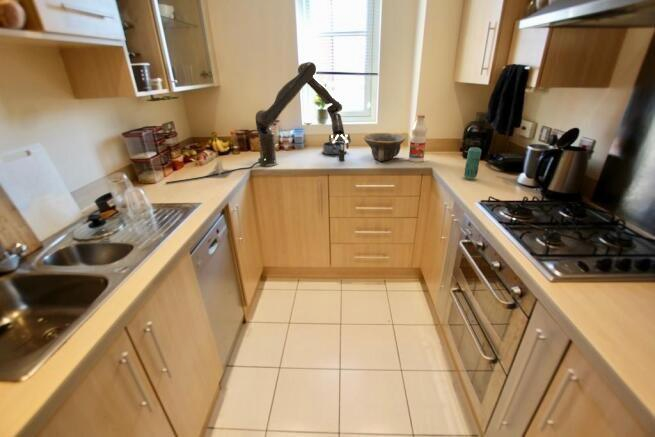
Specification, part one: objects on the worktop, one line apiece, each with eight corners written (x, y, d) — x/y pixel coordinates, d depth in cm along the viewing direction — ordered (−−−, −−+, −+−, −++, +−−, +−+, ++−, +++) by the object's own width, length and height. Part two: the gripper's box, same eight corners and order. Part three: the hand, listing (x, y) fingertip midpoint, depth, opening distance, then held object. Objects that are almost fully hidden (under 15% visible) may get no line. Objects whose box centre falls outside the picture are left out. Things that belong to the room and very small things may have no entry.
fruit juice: (425, 159, 206) (430, 114, 194) (421, 162, 199) (426, 116, 187) (411, 157, 211) (415, 114, 199) (406, 161, 203) (410, 116, 191)
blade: (340, 161, 207) (340, 145, 203) (338, 159, 212) (338, 144, 207) (344, 160, 208) (344, 145, 203) (342, 159, 212) (342, 143, 208)
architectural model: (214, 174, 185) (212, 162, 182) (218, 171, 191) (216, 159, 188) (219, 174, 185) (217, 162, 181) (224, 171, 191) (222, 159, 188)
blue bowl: (330, 156, 220) (330, 147, 218) (318, 151, 233) (318, 143, 231) (350, 152, 228) (350, 144, 225) (337, 148, 241) (337, 140, 238)
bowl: (394, 166, 193) (396, 141, 187) (356, 161, 206) (356, 138, 199) (409, 156, 214) (411, 134, 207) (373, 152, 226) (374, 131, 220)
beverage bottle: (460, 178, 170) (466, 140, 161) (470, 176, 172) (476, 139, 164) (469, 181, 164) (476, 143, 156) (479, 179, 166) (486, 141, 158)
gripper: (327, 125, 209) (331, 146, 203) (348, 124, 211) (352, 144, 205) (326, 132, 216) (329, 152, 210) (347, 131, 218) (350, 151, 212)
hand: (341, 148), depth 208 cm, fingers open, 8 cm apart
